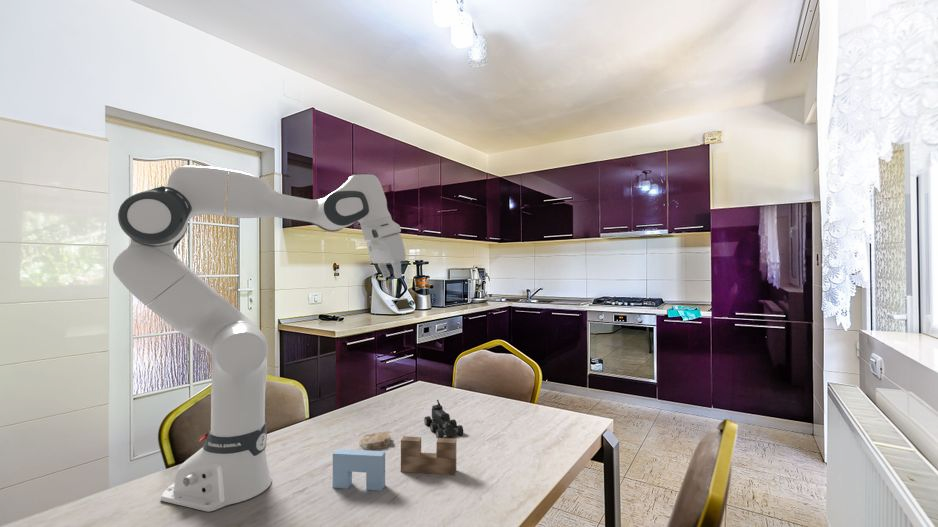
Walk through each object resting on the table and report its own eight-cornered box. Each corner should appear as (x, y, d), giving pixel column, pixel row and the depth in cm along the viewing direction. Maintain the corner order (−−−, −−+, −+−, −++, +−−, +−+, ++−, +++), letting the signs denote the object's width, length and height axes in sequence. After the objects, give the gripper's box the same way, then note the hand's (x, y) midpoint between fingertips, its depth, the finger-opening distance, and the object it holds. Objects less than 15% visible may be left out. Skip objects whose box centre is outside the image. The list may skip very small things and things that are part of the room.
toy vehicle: (446, 422, 138) (446, 396, 139) (464, 436, 125) (463, 408, 125) (423, 425, 135) (423, 399, 135) (439, 441, 121) (438, 412, 122)
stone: (359, 452, 114) (360, 443, 114) (358, 442, 120) (358, 434, 120) (391, 448, 117) (391, 439, 117) (388, 439, 123) (388, 430, 123)
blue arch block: (332, 487, 95) (332, 453, 95) (337, 482, 98) (337, 448, 98) (381, 490, 94) (381, 456, 94) (385, 484, 96) (385, 451, 96)
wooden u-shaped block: (400, 471, 102) (400, 440, 103) (403, 467, 105) (403, 436, 105) (455, 474, 101) (455, 442, 101) (456, 469, 103) (456, 438, 104)
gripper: (357, 236, 120) (371, 279, 123) (380, 230, 103) (395, 282, 105) (377, 230, 124) (390, 273, 126) (402, 224, 106) (416, 274, 108)
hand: (392, 277), depth 115 cm, fingers open, 8 cm apart
